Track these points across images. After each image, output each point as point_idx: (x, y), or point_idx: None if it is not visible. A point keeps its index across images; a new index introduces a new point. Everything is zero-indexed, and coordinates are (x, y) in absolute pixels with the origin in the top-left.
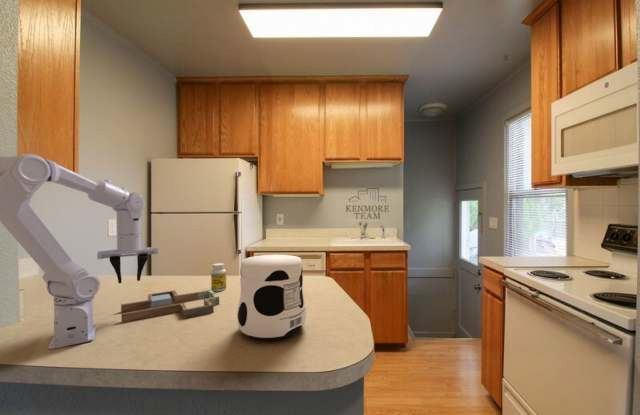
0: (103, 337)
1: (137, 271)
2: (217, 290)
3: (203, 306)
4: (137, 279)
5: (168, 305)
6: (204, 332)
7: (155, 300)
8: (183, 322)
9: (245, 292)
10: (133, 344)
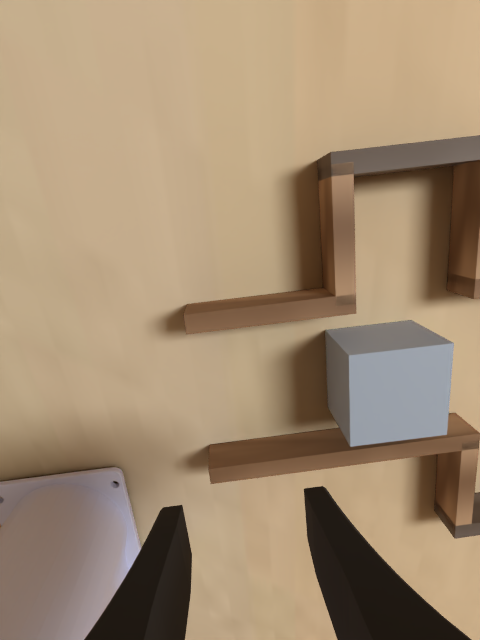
0: None
1: (331, 567)
2: None
3: None
4: (311, 554)
5: (410, 445)
6: None
7: (366, 444)
8: (422, 541)
9: None
10: (267, 634)
